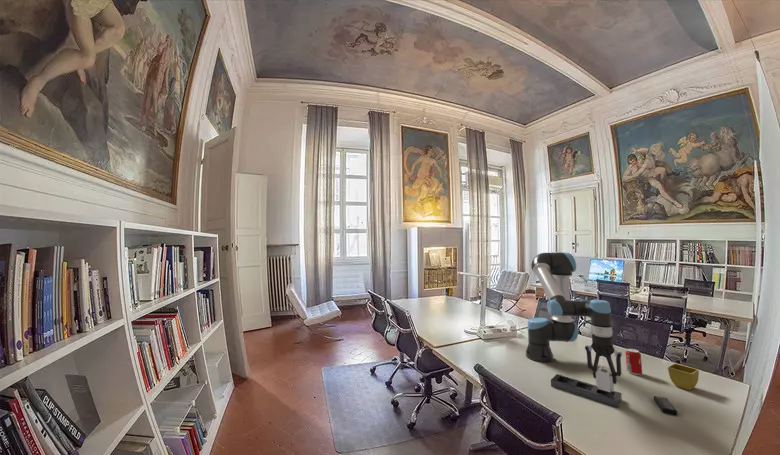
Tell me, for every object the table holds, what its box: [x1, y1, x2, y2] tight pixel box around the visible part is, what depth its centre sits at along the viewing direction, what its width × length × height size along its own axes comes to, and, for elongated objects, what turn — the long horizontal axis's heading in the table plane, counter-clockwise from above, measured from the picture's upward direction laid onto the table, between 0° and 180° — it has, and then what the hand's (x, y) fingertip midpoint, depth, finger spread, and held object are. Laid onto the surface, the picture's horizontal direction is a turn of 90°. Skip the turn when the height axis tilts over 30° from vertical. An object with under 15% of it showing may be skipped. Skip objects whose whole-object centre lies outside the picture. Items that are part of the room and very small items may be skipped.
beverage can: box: [625, 348, 643, 376], centre depth 151 cm, size 6×6×12 cm
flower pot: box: [667, 363, 700, 391], centre depth 135 cm, size 9×9×9 cm
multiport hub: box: [653, 395, 678, 417], centre depth 119 cm, size 4×11×2 cm, turn 152°
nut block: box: [597, 367, 612, 392], centre depth 126 cm, size 4×4×8 cm
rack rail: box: [550, 373, 623, 409], centre depth 132 cm, size 26×9×3 cm, turn 43°
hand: (605, 388), depth 126 cm, fingers closed on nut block, 4 cm apart
